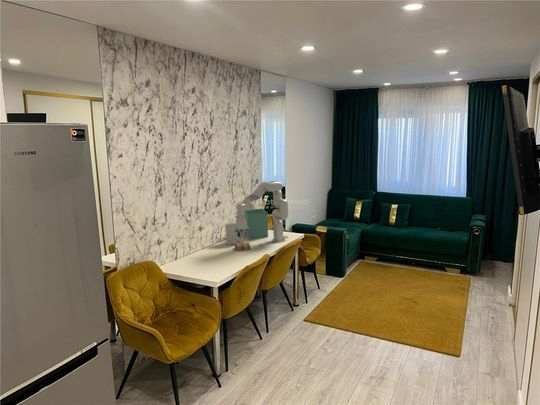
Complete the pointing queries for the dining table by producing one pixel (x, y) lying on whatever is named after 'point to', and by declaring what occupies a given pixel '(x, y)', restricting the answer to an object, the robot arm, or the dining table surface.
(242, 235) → the block
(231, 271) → the dining table surface
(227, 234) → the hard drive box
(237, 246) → the tray
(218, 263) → the dining table surface
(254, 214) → the box
